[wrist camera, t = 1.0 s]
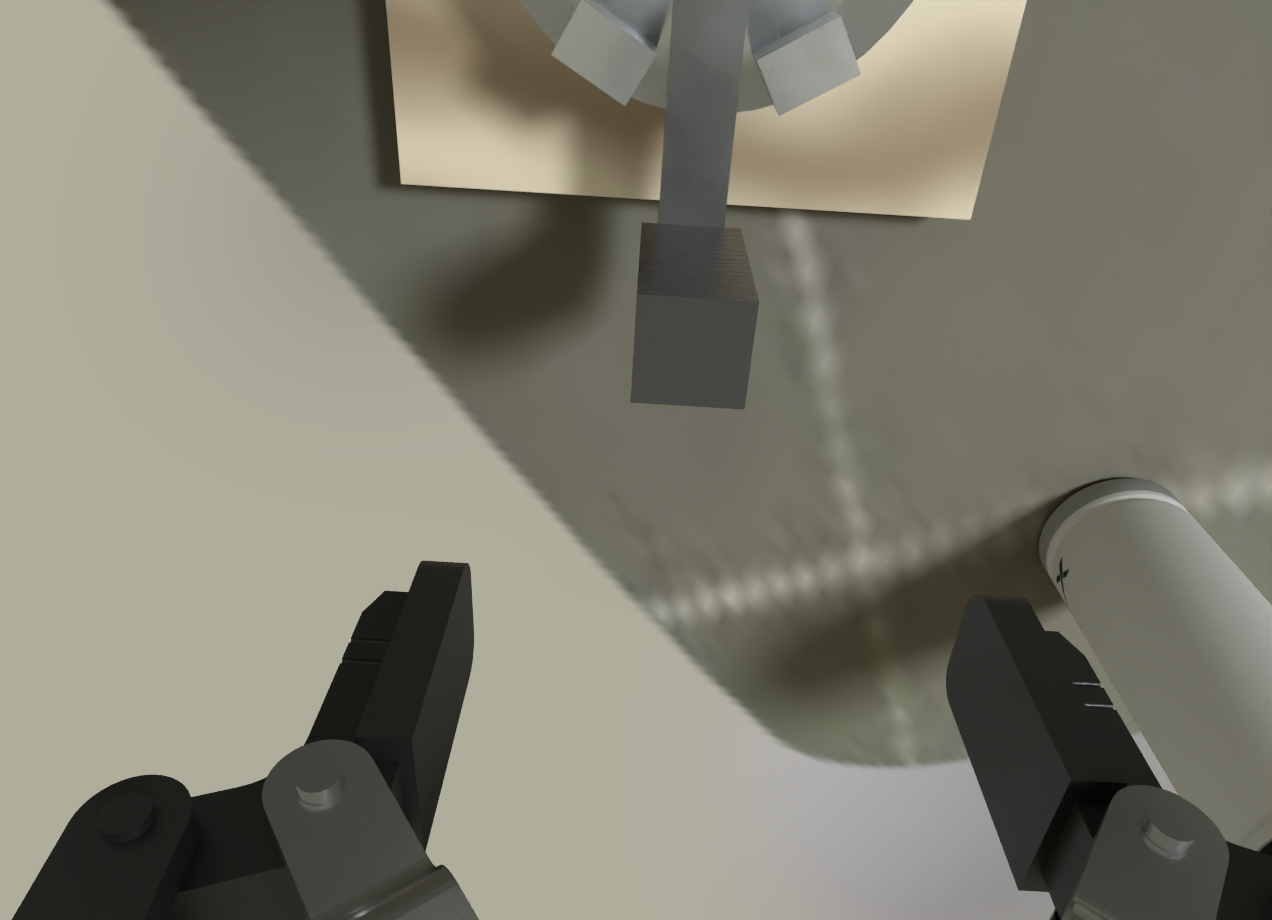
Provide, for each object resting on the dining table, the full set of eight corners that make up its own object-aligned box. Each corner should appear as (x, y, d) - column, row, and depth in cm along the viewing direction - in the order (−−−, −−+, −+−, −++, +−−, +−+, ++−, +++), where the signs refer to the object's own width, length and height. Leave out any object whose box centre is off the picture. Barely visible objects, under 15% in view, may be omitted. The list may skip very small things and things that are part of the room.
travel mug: (1002, 558, 41) (1244, 1011, 24) (1105, 453, 38) (1465, 887, 21) (1104, 608, 42) (1399, 1070, 25) (1210, 511, 39) (1629, 962, 22)
